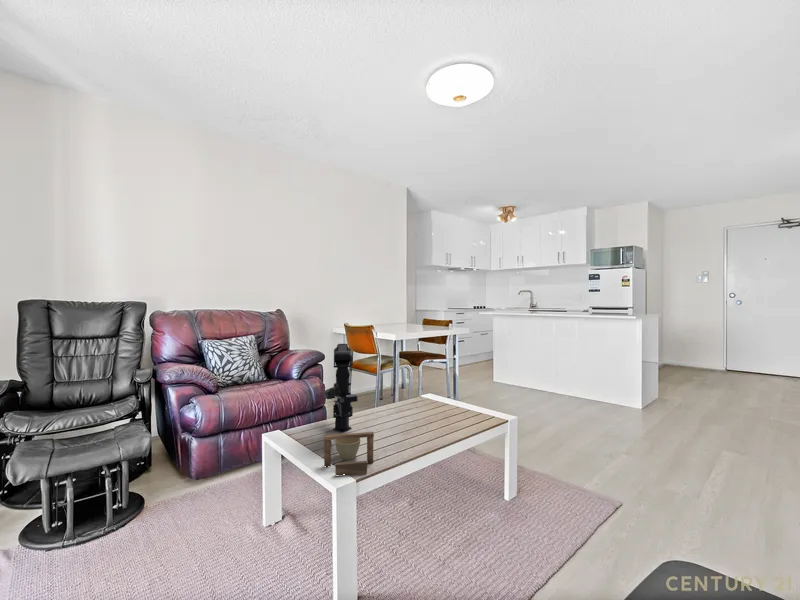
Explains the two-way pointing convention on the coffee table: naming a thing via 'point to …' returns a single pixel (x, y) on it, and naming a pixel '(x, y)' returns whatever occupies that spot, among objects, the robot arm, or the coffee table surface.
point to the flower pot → (347, 447)
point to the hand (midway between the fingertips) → (342, 417)
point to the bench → (349, 467)
